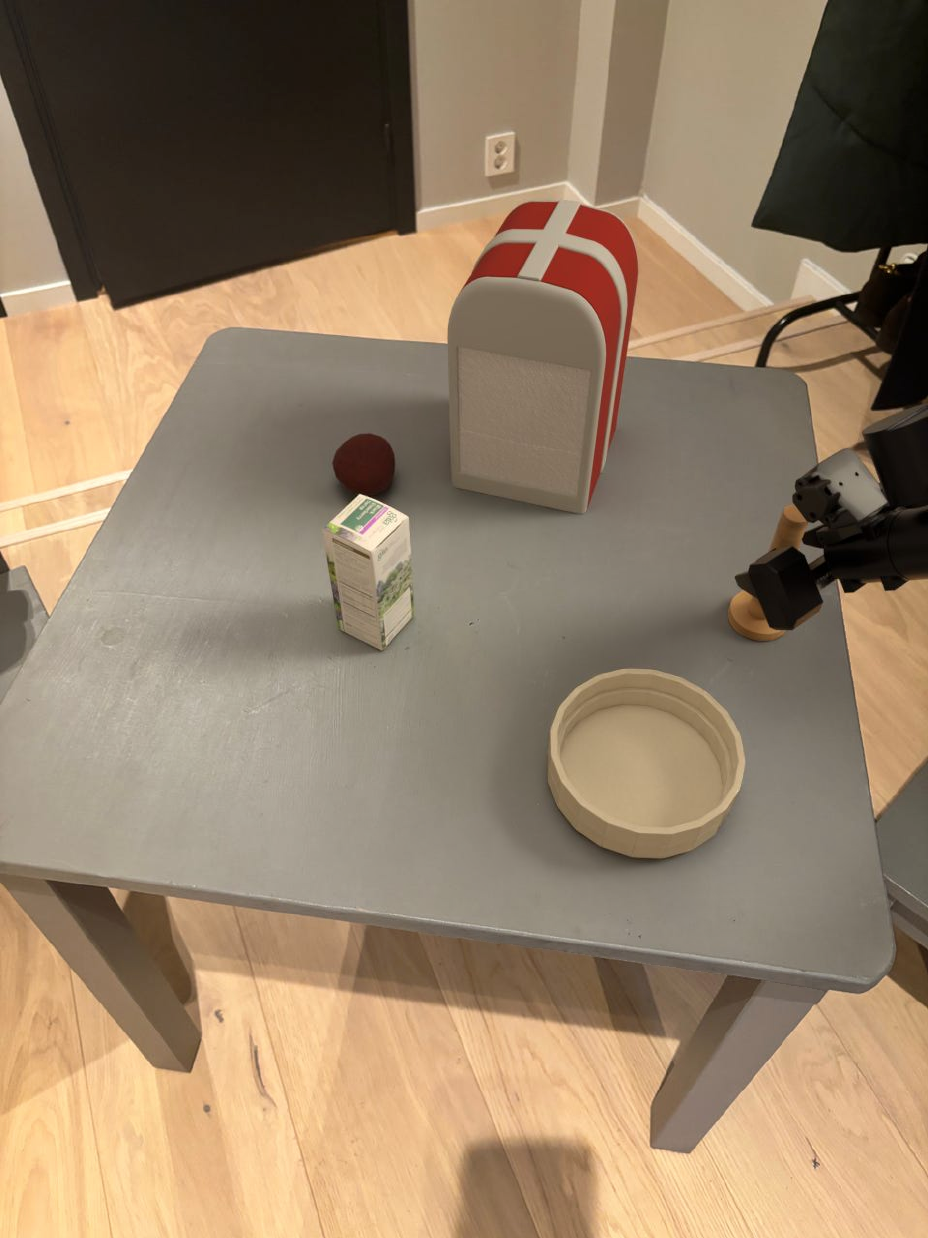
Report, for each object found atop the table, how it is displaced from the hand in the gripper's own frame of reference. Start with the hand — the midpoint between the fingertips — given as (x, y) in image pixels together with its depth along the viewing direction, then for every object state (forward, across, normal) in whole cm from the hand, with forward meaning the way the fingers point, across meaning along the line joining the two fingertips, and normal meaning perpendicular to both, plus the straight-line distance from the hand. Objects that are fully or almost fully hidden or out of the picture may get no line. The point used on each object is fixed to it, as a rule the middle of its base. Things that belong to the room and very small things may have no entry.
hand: (770, 559), depth 85 cm
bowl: (+1, +22, +10) cm, 25 cm away
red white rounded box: (+29, +2, -17) cm, 34 cm away
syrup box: (+21, +31, -10) cm, 39 cm away
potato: (+34, +21, -23) cm, 46 cm away
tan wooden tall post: (+5, 0, +6) cm, 8 cm away
